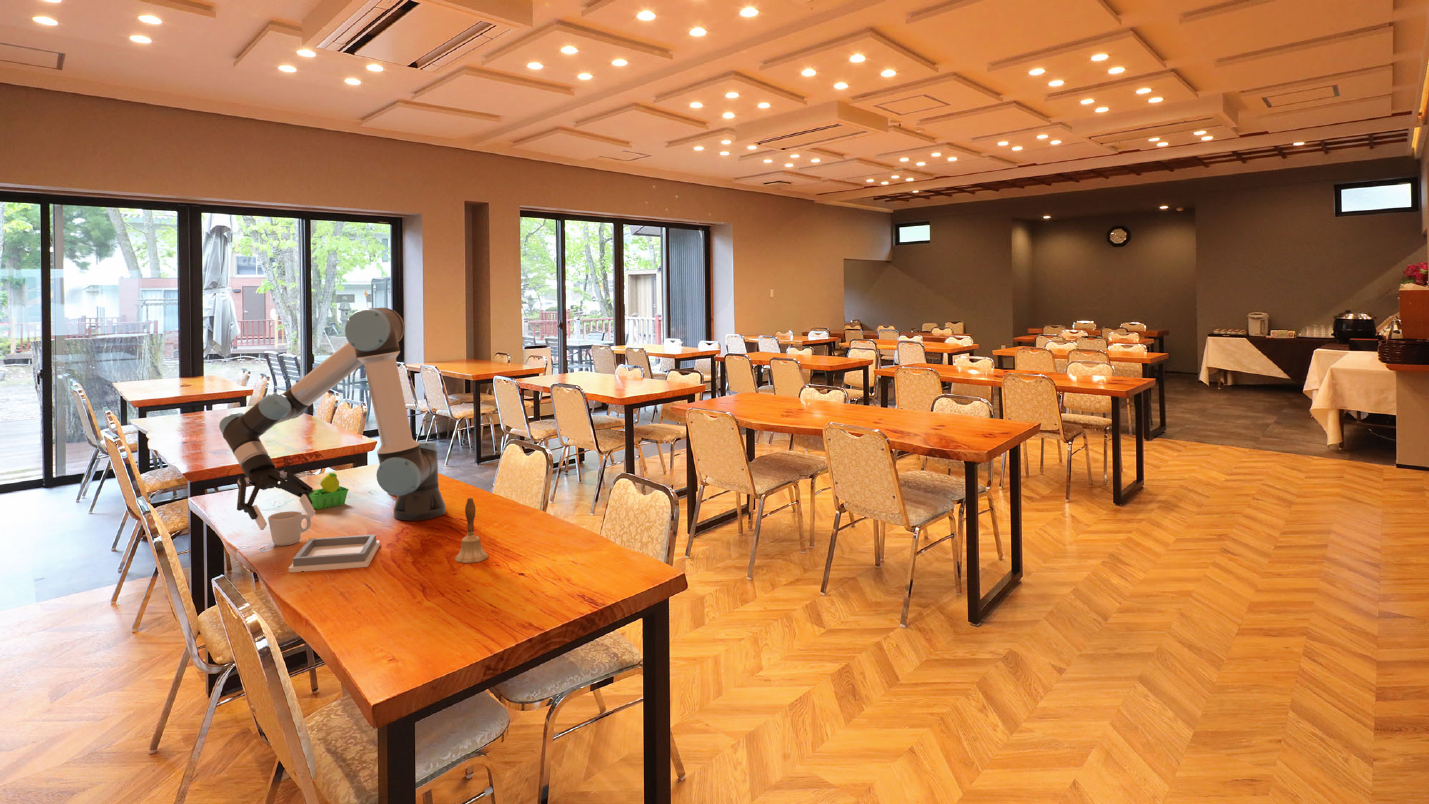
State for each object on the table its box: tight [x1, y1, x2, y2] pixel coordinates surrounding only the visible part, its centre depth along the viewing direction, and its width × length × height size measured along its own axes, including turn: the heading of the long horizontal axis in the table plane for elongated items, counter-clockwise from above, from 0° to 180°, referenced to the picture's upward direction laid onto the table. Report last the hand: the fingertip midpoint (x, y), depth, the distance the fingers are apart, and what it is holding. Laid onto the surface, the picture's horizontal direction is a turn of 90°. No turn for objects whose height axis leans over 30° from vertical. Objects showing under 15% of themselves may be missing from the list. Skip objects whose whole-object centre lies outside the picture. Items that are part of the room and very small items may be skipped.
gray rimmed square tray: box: [288, 533, 381, 573], centre depth 201 cm, size 18×18×3 cm
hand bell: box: [454, 497, 489, 564], centre depth 200 cm, size 8×8×16 cm
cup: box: [267, 510, 312, 547], centre depth 213 cm, size 11×8×8 cm
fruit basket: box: [309, 472, 350, 510], centre depth 249 cm, size 11×9×11 cm
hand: (289, 521), depth 212 cm, fingers open, 13 cm apart
